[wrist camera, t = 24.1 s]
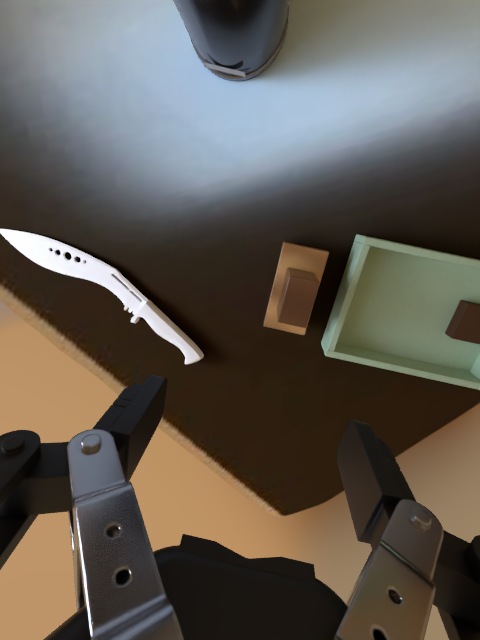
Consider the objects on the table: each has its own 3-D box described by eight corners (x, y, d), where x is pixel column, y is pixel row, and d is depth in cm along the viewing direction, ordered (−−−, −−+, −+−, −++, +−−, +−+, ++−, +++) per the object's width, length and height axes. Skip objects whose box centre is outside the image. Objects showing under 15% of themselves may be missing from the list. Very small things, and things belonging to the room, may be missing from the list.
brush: (283, 239, 36) (285, 247, 28) (324, 248, 35) (338, 258, 28) (264, 317, 39) (262, 341, 32) (302, 326, 39) (308, 352, 32)
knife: (-11, 230, 38) (19, 181, 35) (1, 229, 39) (30, 182, 37) (167, 390, 42) (204, 357, 40) (171, 384, 44) (207, 351, 41)
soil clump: (460, 299, 35) (468, 303, 34) (497, 307, 35) (507, 311, 34) (444, 333, 37) (451, 338, 35) (480, 341, 37) (488, 346, 35)
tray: (356, 233, 35) (365, 236, 31) (527, 270, 34) (555, 276, 31) (320, 343, 40) (325, 356, 36) (469, 376, 39) (488, 391, 36)
